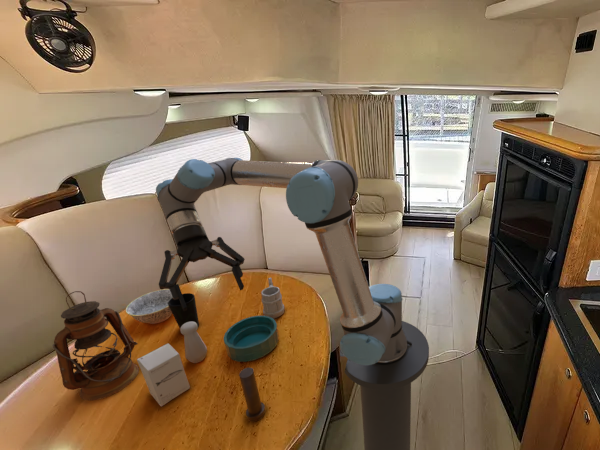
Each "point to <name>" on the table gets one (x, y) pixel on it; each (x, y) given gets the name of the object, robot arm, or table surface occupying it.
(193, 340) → the salt shaker
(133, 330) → the table surface
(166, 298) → the bowl
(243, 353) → the teal bowl
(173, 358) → the white packaging box
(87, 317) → the lantern
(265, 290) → the mug
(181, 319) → the cup
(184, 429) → the table surface
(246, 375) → the walnut stirrer
